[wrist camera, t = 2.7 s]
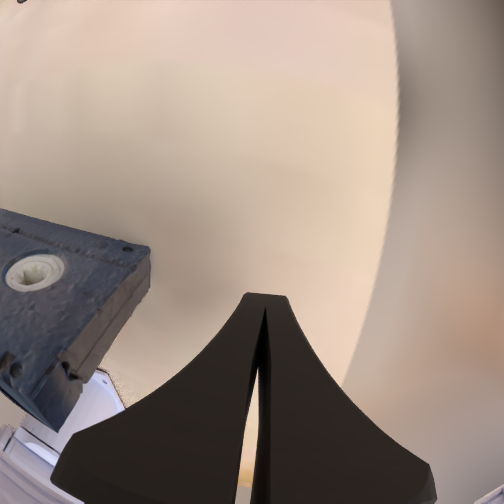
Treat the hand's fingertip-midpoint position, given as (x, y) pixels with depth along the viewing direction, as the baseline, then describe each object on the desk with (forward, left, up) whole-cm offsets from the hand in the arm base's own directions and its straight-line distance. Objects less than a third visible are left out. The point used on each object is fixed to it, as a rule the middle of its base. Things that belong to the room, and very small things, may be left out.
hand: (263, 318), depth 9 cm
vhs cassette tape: (0, +15, -5) cm, 16 cm away
